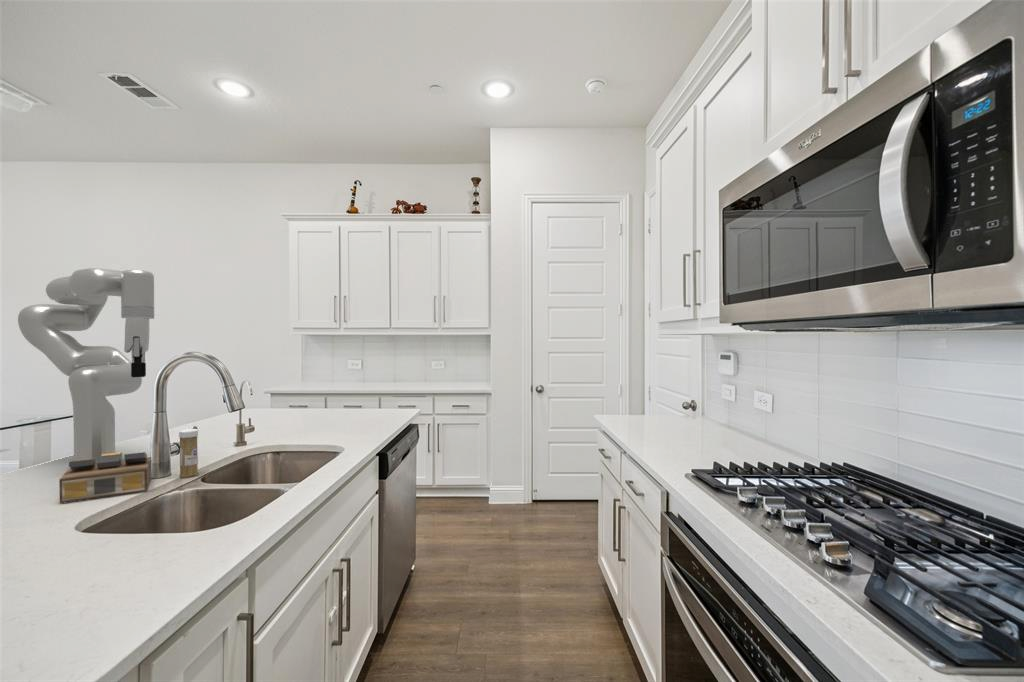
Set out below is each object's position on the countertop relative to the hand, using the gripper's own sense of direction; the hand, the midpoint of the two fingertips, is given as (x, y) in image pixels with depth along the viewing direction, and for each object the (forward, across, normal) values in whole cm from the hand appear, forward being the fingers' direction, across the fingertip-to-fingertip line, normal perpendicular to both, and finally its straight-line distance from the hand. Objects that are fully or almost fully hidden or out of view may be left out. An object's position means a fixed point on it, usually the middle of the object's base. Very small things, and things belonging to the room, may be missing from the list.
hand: (138, 376), depth 138 cm
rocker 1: (+22, +8, -11) cm, 26 cm away
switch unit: (+29, +10, -6) cm, 31 cm away
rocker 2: (+22, +8, -6) cm, 24 cm away
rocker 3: (+22, +8, 0) cm, 24 cm away
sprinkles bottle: (+29, +6, +12) cm, 32 cm away
